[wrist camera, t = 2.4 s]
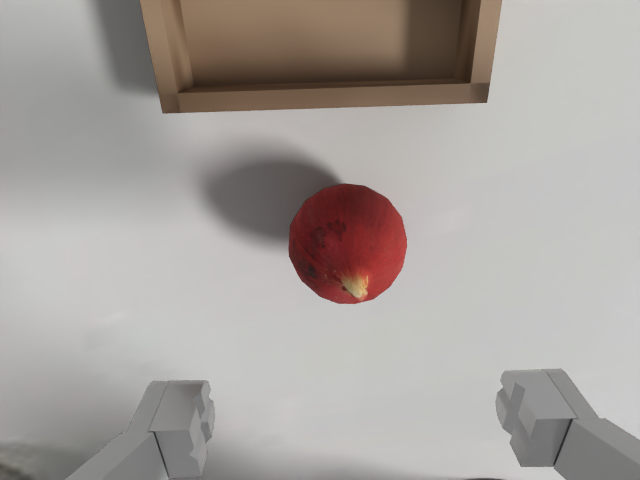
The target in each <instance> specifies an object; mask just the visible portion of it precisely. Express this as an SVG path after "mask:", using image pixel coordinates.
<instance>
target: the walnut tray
mask: <svg viewBox="0 0 640 480" xmlns="http://www.w3.org/2000/svg"><path fill="white" fill-rule="evenodd" d="M140 4H141V9H142V14H143V19H144V24H145V29H146V34H147V39H148V44H149V49H150V54H151V59H152V64H153V68H154V73H155V78H156V83H157V88H158V93H159V98H160V103H161V108H162V113H190V112H220V111H251V110H281V109H312V108H342V107H373V106H403V105H434V104H464V103H487V99H488V93H489V86H490V79H491V72H492V65H493V59H494V52H495V45H496V38H497V31H498V25H499V18H500V11H501V4H502V0H140Z"/></svg>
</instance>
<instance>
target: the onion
mask: <svg viewBox="0 0 640 480" xmlns="http://www.w3.org/2000/svg"><path fill="white" fill-rule="evenodd" d="M288 248H289V257H290V259H291V261H292V263H293V266H294V268H295V270H296V272H297V274H298V276H299V277H300V279H301V280H302V282H304V283H305V284H306V285H307V286H308V287H309V288H311V289H312V290H313V291H314V292H315V293H316V294H318V295H319V296H320V297H322V298H325V299H327V300H330V301H333V302H335V303H339V304H357V303H360V302H364V301H368V300H373V299H374V298H376V297H377V296H378V295H380V294H381V293H382V292H384V291H385V290H386V289H388V288H389V287H390V286H391V284H392V283H393V281H394V280H395V278H396V277H397V276H398V274H399V273H400V271H401V269H402V267H403V264H404V258H405V253H406V248H407V238H406V233H405V229H404V225H403V220H402V217H401V216H400V214H399V213H398V212H397V210H396V209H395V208H394V206H393V205H392V204H391V202H390V201H389V200H388V199H387V198H386V197H385V196H383V195H381V194H379V193H377V192H375V191H374V190H372V189H370V188H368V187H366V186H362V185H353V184H345V183H344V184H340V185H336V186H331V187H327V188H323V189H322V190H320V191H319V192H317V193H316V194H314V195H313V196H312V197H310V198H309V199H307V200H306V201H305V202H304V204H303V205H302V207H301V208H300V210H299V211H298V213H297V214H296V216H295V217H294V219H293V221H292V223H291V225H290V234H289V247H288Z"/></svg>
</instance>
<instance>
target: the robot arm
mask: <svg viewBox="0 0 640 480" xmlns="http://www.w3.org/2000/svg"><path fill="white" fill-rule="evenodd" d="M500 381H501V383H502V385H503V388H502V389H501V390H500V391H498V392H497V397H496V412H497V415H498V419H499V421H500V423H501V426H502V428H503V429H504V430H506V431H507V432H508V433H509V434H511V435H512V437H511V440H510V445H511V447H512V449H513V451H514V453H515V455H516V457H517V460H518V462H519V464H520V466H521V467H554V469H555V470H556V471H557V472H558V473H559V474H560V475H562V476H563V477H564V478H565V479H566V480H640V440H639V439H637V438H636V437H634V436H632V435H631V434H629V433H628V432H626V431H625V430H623V429H621V428H620V427H618V426H617V425H615V424H613V423H612V422H610V421H609V420H607V419H605V418H599V417H598V416H597V414H596V413H595V412H594V410H593V409H592V407H591V406H590V405H589V403H588V402H587V401H586V399H585V398H584V397H583V395H582V394H581V393H580V391H579V390H578V388H577V387H576V386H575V384H574V383H573V382H572V380H571V379H570V378H569V376H568V375H567V374H566V372H565V371H563V370H562V369H542V370H540V369H535V370H511V371H504V372H503V374H502V376H501V380H500ZM210 390H211V389H210V385H209V381H206V380H180V381H152V382H151V383H150V384H149V385H148V387H147V389H146V391H145V393H144V396H143V398H142V400H141V402H140V404H139V406H138V409H137V411H136V413H135V415H134V417H133V419H132V421H131V424H130V426H129V428H128V430H127V432H126V433H120V434H119V435H118V436H117V437H115V438H114V439H113V440H112V441H111V442H109V443H108V444H107V445H106V446H105V447H103V448H102V449H101V450H100V451H99V452H97V453H96V454H95V455H94V456H93V457H91V458H90V459H89V460H88V461H87V462H85V463H84V464H83V465H82V466H81V467H79V468H78V469H77V470H76V471H75V472H73V473H72V474H71V475H70V476H69V477H67V478H66V479H65V480H169V478H183V477H200V476H202V473H203V469H204V465H205V461H206V457H207V453H208V452H207V447H206V442H207V441H208V440H209V439H210V438H211V437H212V433H213V428H214V420H215V409H214V403H213V401H212V400H211V399H210V398H209V394H210Z"/></svg>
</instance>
